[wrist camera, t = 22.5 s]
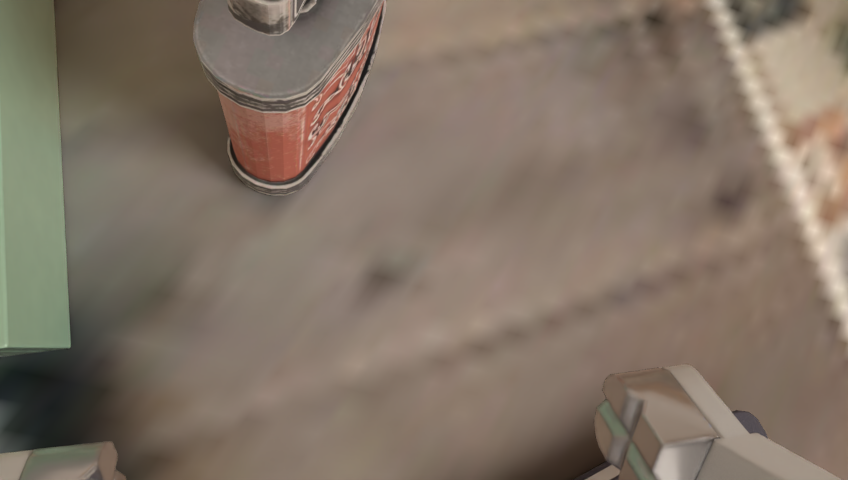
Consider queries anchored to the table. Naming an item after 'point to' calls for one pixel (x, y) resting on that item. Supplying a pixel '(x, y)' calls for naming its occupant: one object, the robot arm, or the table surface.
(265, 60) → the lighter
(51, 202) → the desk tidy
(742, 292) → the table surface
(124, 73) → the table surface
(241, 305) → the table surface
